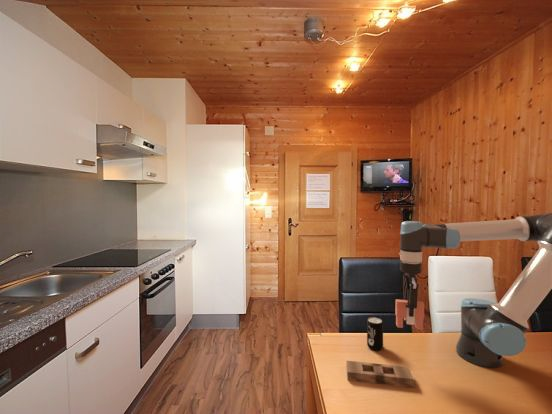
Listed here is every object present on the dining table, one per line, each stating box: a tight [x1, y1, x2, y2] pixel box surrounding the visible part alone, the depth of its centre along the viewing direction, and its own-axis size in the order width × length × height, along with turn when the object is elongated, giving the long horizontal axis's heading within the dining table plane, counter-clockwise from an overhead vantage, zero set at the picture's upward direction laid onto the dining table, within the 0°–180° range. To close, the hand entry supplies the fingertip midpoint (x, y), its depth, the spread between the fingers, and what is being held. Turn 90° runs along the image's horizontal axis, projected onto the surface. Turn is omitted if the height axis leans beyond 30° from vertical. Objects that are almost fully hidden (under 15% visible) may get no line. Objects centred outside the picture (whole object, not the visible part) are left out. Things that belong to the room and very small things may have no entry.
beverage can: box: [366, 316, 384, 352], centre depth 118 cm, size 7×7×12 cm
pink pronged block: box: [394, 298, 425, 331], centre depth 104 cm, size 10×3×10 cm, turn 77°
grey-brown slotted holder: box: [346, 360, 415, 388], centre depth 98 cm, size 22×7×3 cm, turn 78°
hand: (409, 322), depth 105 cm, fingers closed on pink pronged block, 3 cm apart
